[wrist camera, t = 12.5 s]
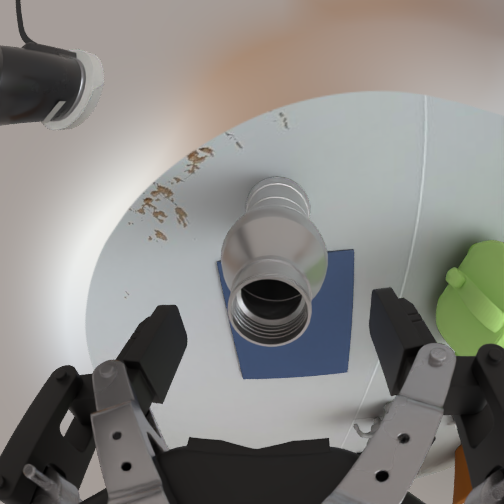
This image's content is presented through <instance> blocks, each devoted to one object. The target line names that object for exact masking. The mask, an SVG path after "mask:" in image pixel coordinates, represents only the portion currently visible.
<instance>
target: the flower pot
mask: <svg viewBox="0 0 504 504" xmlns="http://www.w3.org/2000/svg"><path fill="white" fill-rule="evenodd" d="M471 491H472V485H471V480H470V476H469V471H468V467H467V463H466V459H465V455H464V451H463V447H462V445H460V446H459V447H458V448H457V450H456V451H455V479H454V495H453V504H463V503H464V502H465V500H466V497H467V496H468V494H469V493H470V492H471Z"/></svg>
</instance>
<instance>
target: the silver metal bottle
mask: <svg viewBox="0 0 504 504" xmlns="http://www.w3.org/2000/svg"><path fill="white" fill-rule="evenodd" d="M310 213H311V209H310V202H309V198H308V196H307V194H306V192H305V191H304V190H303V189H302V187H301V186H300V185H298V184H297V183H296V182H294V181H292V180H291V179H288V178H285V177H270V178H267V179H264V180H262V181H260V182H259V183H258V184H256V185H255V186H254V187H253V189H252V190H251V191H250V193H249V195H248V197H247V201H246V208H245V214H244V215H243V216H242V217H241V218H239V219H238V220H237V221H236V223H235V224H234V225H233V226H232V228H231V229H230V230H229V231H228V233H227V235H226V237H225V239H224V242H223V246H222V250H221V264H222V270H223V276H224V279H225V282H226V284H227V286H228V288H229V290H230V291H231V293H230V297H229V301H228V316H229V320H230V322H231V324H232V326H233V328H234V329H235V330H236V332H237V333H238V334H239V335H240V336H242V337H243V338H244V339H246V340H247V341H250V342H252V343H254V344H257V345H261V346H267V347H276V346H282V345H285V344H288V343H291V342H293V341H294V340H296V339H298V338H299V337H300V336H301V335H302V334H303V333H304V332H305V330H306V329H307V327H308V325H309V323H310V319H311V314H312V305H311V301H312V299H313V298H314V297H315V296H316V295H317V293H318V292H319V290H320V289H321V286H322V284H323V282H324V279H325V276H326V272H327V267H328V253H327V249H326V245H325V242H324V240H323V238H322V236H321V234H320V232H319V230H318V229H317V228H316V226H315V225H314V224H313V222H312V221H311V220H310Z"/></svg>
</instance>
